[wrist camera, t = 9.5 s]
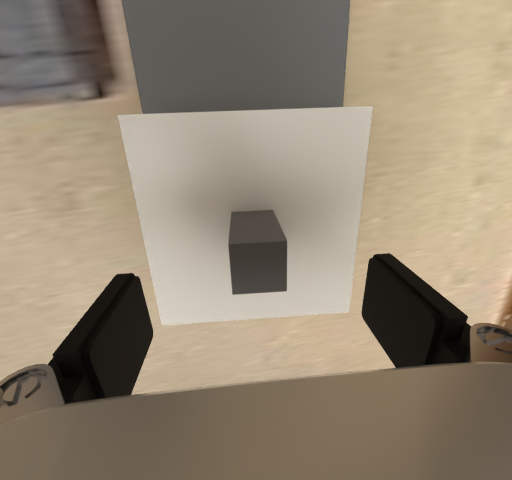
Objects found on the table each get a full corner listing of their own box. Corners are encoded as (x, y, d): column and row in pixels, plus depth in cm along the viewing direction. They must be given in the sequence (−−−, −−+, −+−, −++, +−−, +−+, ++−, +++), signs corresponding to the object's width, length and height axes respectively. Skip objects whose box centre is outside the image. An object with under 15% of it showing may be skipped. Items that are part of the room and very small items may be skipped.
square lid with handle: (121, 115, 17) (53, 104, 11) (368, 106, 17) (439, 91, 11) (163, 320, 23) (135, 389, 17) (346, 308, 23) (384, 369, 17)
